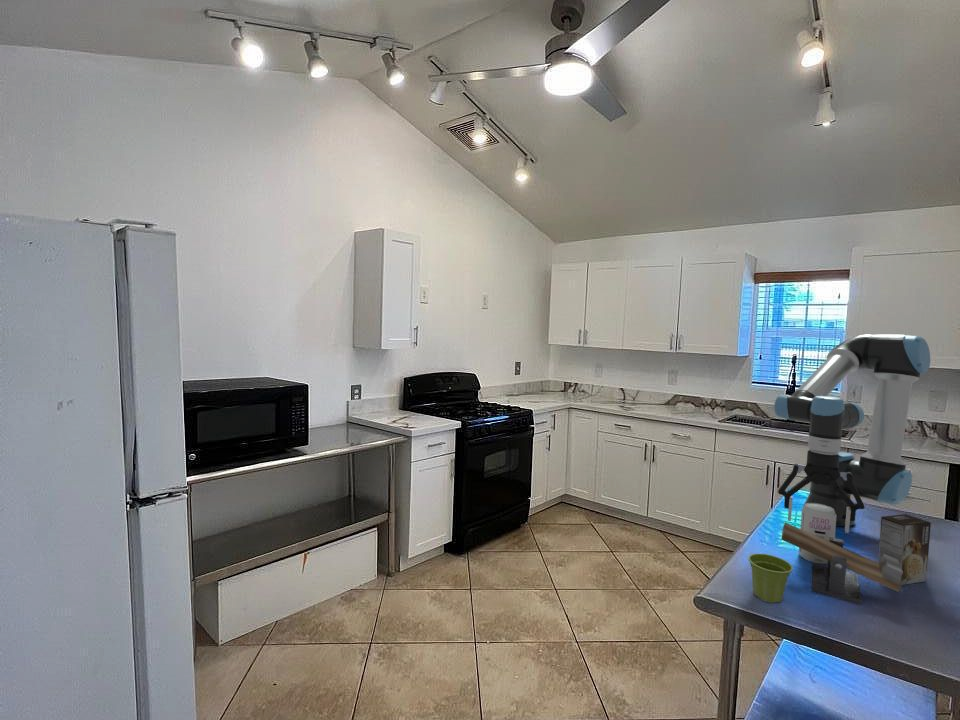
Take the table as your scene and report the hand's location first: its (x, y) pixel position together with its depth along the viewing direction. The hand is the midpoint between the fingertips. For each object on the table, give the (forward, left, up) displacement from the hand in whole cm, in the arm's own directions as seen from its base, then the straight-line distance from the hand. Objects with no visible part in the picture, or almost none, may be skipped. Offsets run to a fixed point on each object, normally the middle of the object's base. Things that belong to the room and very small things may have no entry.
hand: (817, 525), depth 144 cm
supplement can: (0, 0, -10) cm, 10 cm away
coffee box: (0, +19, -10) cm, 22 cm away
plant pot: (+32, -10, -10) cm, 35 cm away
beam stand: (+15, +4, -10) cm, 18 cm away
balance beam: (+15, +4, -2) cm, 15 cm away
